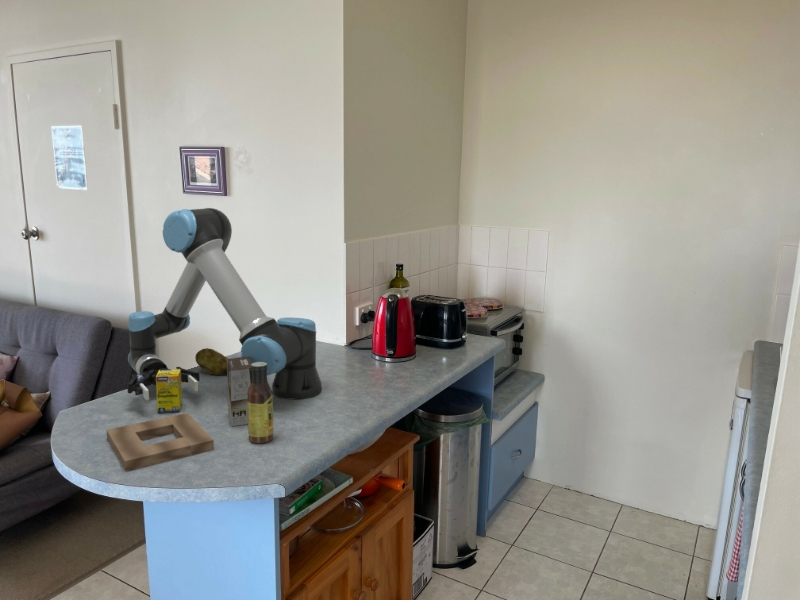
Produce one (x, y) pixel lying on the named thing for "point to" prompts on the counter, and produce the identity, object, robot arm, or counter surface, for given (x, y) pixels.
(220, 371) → the potato
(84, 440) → the counter surface
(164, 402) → the supplement box
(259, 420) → the sauce bottle
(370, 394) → the counter surface
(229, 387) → the coffee box
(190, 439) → the socket board
